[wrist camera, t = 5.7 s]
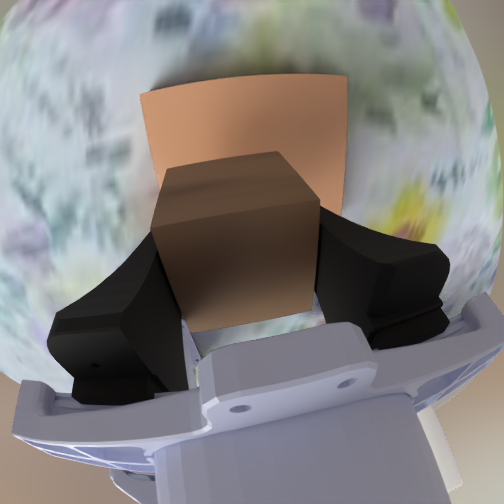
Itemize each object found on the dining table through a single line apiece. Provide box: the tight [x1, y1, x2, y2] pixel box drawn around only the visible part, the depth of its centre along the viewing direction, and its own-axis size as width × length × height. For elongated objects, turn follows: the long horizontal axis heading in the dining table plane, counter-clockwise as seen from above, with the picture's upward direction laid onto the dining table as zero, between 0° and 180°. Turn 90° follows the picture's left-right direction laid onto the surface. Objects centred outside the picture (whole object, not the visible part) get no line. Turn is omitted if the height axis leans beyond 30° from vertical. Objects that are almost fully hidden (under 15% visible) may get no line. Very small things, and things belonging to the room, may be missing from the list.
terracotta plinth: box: [139, 73, 347, 216], centre depth 18 cm, size 12×12×3 cm
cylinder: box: [417, 376, 475, 492], centre depth 31 cm, size 17×17×28 cm
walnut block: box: [150, 151, 320, 333], centre depth 11 cm, size 5×5×5 cm
